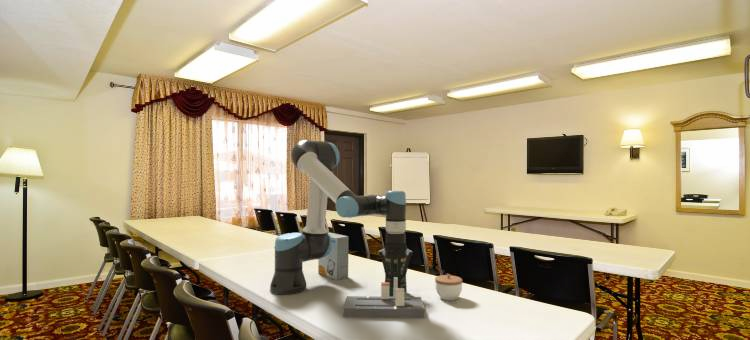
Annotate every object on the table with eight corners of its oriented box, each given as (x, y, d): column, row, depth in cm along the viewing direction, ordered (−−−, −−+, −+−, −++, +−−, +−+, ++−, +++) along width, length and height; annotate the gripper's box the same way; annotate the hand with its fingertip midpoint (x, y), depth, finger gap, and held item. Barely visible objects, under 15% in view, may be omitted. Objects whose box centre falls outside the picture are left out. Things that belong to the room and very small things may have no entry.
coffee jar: (397, 298, 145) (398, 251, 146) (381, 294, 150) (381, 249, 150) (409, 292, 153) (409, 247, 154) (393, 288, 158) (393, 245, 158)
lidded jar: (429, 298, 146) (429, 274, 146) (444, 292, 154) (444, 269, 154) (453, 304, 138) (453, 279, 139) (467, 297, 146) (467, 274, 146)
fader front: (395, 305, 127) (395, 290, 127) (395, 303, 129) (395, 288, 129) (404, 306, 127) (404, 290, 127) (403, 303, 129) (403, 288, 129)
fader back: (381, 299, 134) (381, 284, 134) (381, 297, 136) (381, 282, 137) (389, 299, 134) (389, 284, 134) (389, 297, 136) (389, 282, 137)
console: (342, 317, 125) (342, 308, 125) (346, 303, 139) (347, 295, 139) (424, 318, 125) (424, 309, 125) (420, 304, 138) (420, 296, 138)
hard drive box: (317, 273, 182) (317, 233, 183) (330, 271, 188) (330, 232, 188) (336, 280, 171) (336, 237, 171) (349, 277, 176) (349, 235, 177)
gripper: (378, 233, 132) (377, 299, 132) (414, 233, 132) (413, 299, 131) (378, 230, 140) (378, 292, 139) (412, 230, 139) (412, 292, 139)
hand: (395, 295), depth 135 cm, fingers closed
